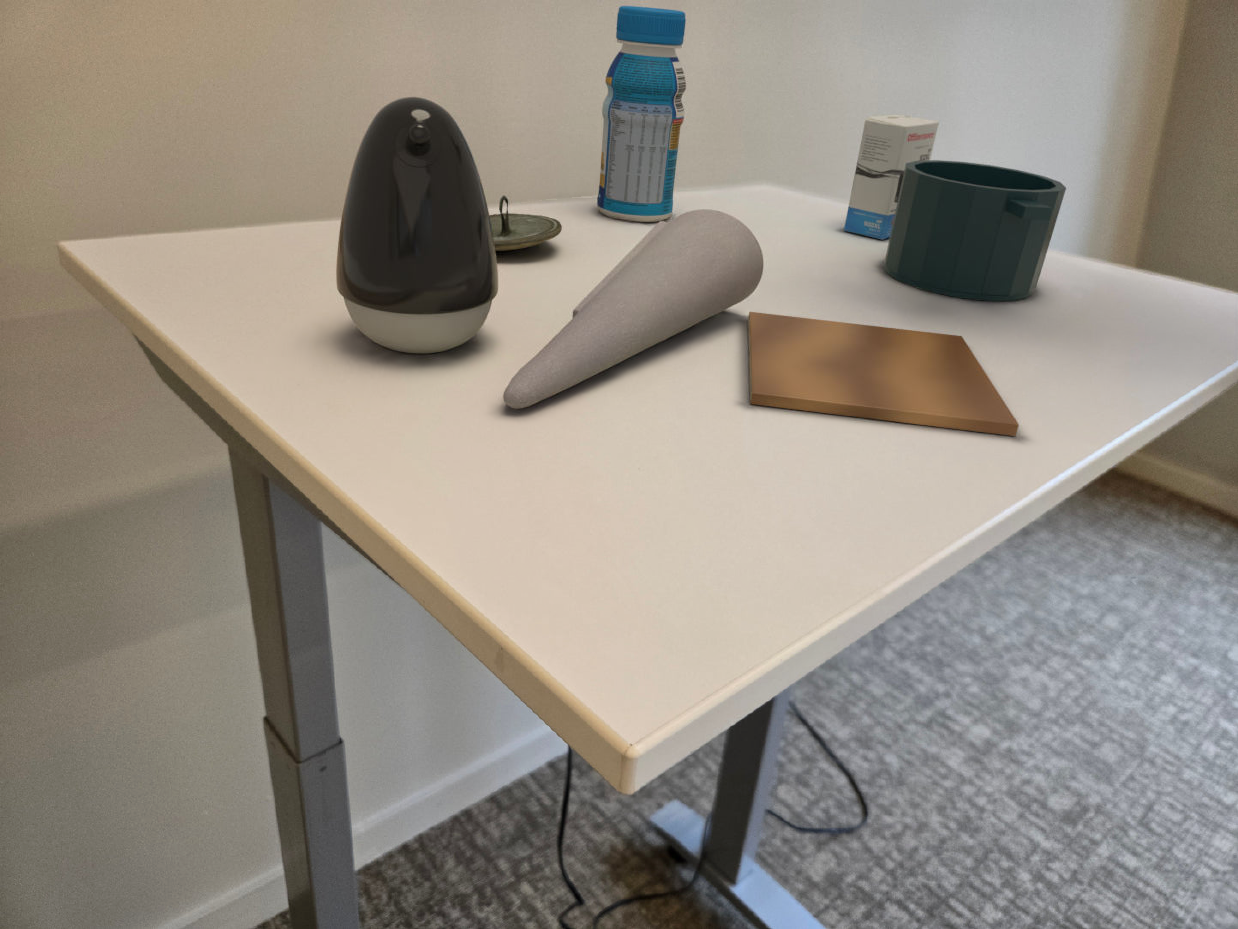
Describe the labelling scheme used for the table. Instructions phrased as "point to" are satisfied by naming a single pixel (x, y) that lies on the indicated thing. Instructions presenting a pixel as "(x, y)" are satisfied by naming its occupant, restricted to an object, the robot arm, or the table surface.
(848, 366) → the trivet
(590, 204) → the table surface
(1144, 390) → the table surface
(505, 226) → the lid
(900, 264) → the pot
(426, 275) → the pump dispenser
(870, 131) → the ink box
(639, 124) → the beverage bottle
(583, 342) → the grey cone
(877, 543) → the table surface
